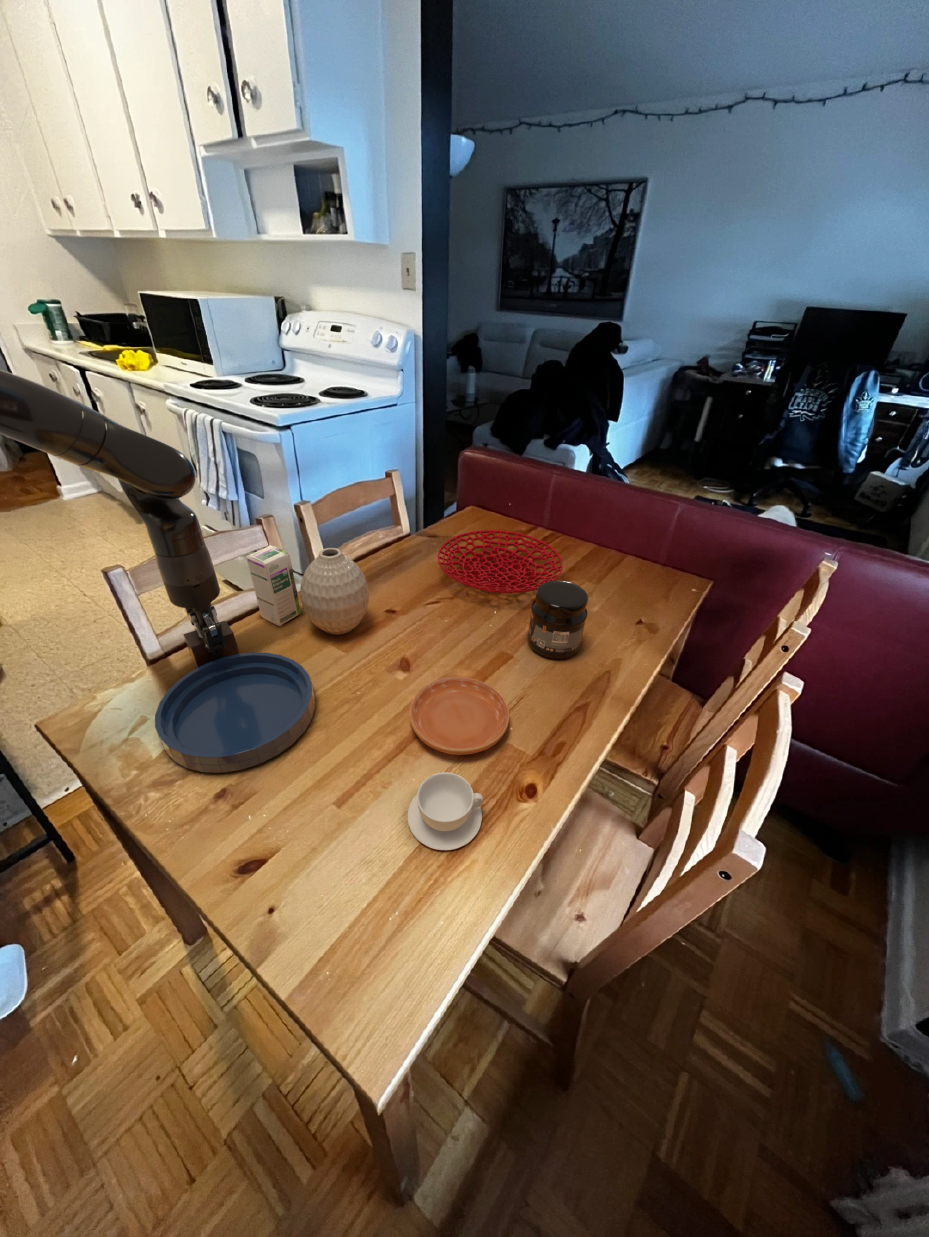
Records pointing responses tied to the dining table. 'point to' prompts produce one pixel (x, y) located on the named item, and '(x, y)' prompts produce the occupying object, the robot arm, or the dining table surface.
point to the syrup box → (274, 584)
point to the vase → (334, 592)
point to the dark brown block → (201, 652)
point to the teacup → (445, 812)
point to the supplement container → (557, 619)
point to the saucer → (459, 715)
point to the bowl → (499, 563)
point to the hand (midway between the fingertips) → (214, 654)
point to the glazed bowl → (235, 712)
